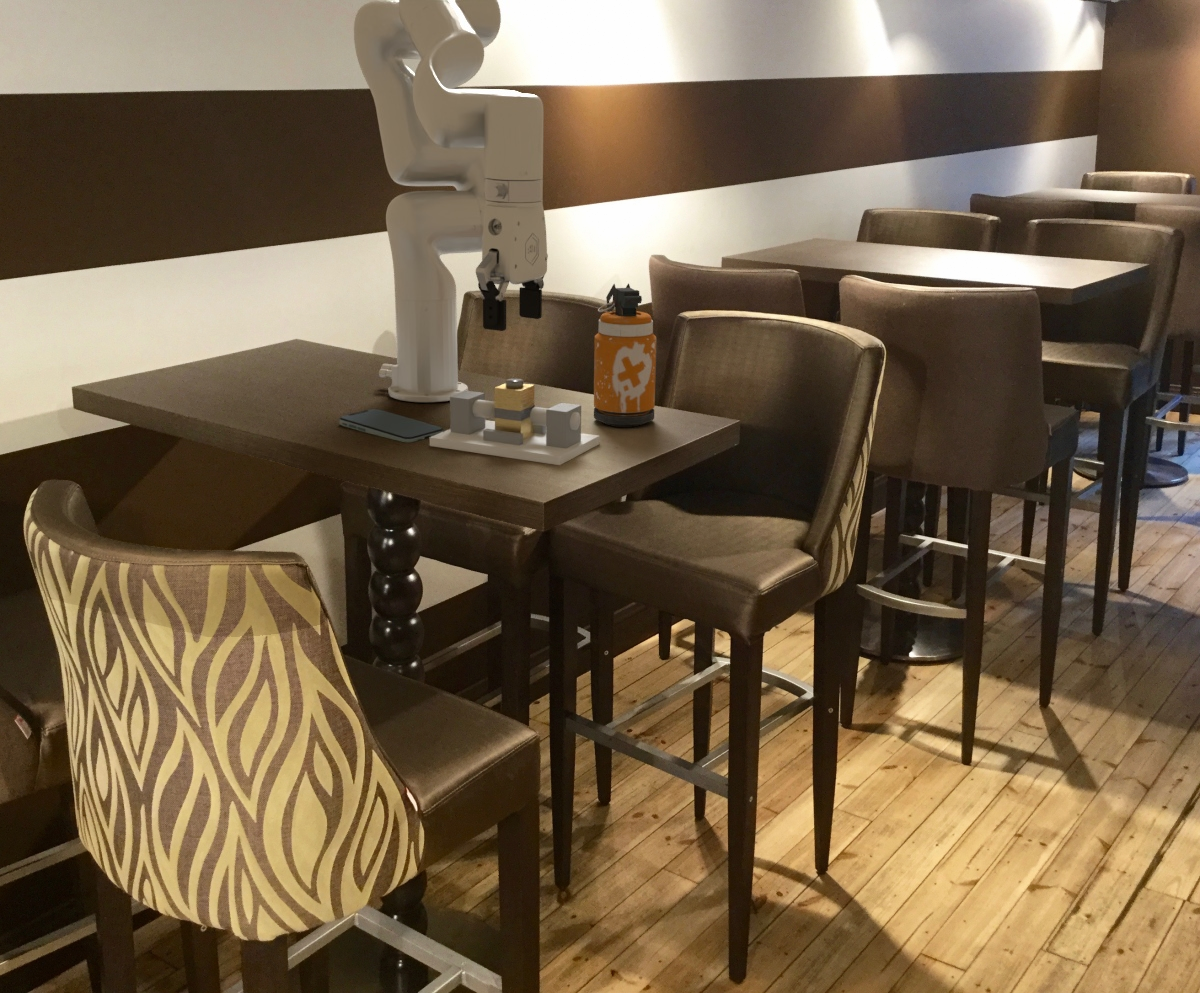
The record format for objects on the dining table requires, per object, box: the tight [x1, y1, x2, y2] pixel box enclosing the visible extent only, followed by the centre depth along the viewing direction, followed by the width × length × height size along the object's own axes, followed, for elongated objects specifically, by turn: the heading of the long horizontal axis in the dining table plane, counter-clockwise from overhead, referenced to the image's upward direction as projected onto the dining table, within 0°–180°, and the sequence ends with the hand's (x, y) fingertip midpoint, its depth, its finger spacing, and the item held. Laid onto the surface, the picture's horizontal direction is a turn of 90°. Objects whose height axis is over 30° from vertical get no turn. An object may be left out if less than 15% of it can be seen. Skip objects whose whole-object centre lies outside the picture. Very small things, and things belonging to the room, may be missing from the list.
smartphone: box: [339, 408, 444, 443], centre depth 183 cm, size 8×2×15 cm
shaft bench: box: [428, 390, 601, 466], centre depth 175 cm, size 20×12×6 cm, turn 64°
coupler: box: [494, 378, 536, 440], centre depth 174 cm, size 4×4×8 cm
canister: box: [593, 283, 657, 428], centre depth 187 cm, size 9×11×20 cm
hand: (512, 323), depth 171 cm, fingers open, 9 cm apart
